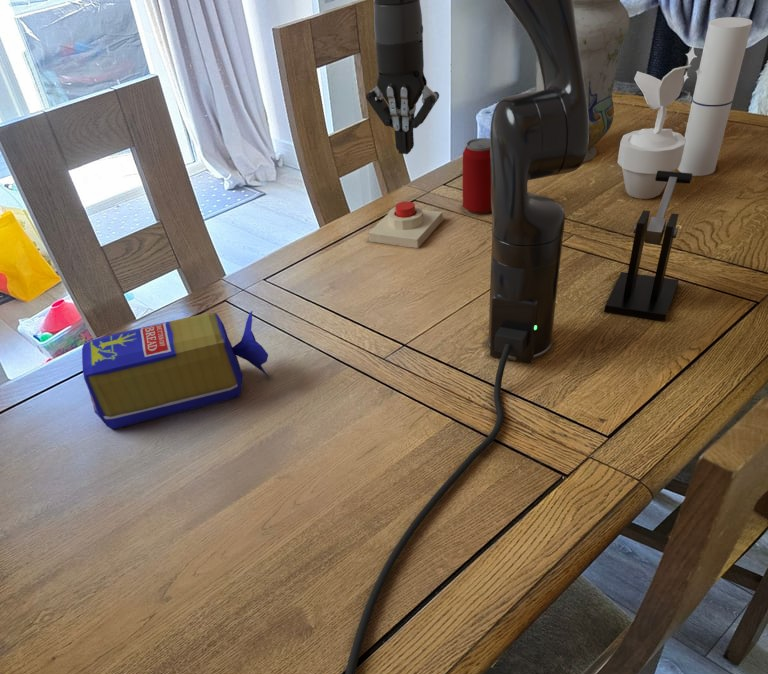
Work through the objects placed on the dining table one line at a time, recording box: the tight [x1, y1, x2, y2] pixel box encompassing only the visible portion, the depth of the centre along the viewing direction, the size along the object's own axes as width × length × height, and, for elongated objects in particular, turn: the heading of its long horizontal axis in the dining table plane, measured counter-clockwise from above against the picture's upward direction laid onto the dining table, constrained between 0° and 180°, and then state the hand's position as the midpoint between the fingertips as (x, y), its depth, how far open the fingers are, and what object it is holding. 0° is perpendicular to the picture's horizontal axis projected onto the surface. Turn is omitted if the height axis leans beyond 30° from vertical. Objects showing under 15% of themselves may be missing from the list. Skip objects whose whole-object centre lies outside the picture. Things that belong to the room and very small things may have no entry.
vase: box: [535, 0, 630, 163], centre depth 141 cm, size 18×18×30 cm
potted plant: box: [617, 43, 702, 200], centre depth 127 cm, size 13×12×25 cm
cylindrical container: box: [677, 16, 753, 177], centre depth 133 cm, size 7×7×25 cm
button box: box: [368, 205, 444, 249], centre depth 131 cm, size 12×10×4 cm
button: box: [394, 201, 416, 218], centre depth 130 cm, size 4×4×2 cm
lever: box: [644, 171, 693, 246], centre depth 103 cm, size 13×5×2 cm, turn 154°
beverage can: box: [462, 137, 492, 215], centre depth 132 cm, size 7×7×12 cm
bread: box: [81, 310, 270, 430], centre depth 97 cm, size 10×25×10 cm, turn 108°
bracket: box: [603, 209, 680, 322], centre depth 105 cm, size 11×9×13 cm
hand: (405, 152), depth 122 cm, fingers closed
